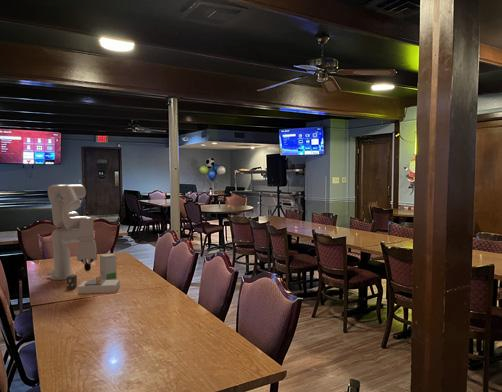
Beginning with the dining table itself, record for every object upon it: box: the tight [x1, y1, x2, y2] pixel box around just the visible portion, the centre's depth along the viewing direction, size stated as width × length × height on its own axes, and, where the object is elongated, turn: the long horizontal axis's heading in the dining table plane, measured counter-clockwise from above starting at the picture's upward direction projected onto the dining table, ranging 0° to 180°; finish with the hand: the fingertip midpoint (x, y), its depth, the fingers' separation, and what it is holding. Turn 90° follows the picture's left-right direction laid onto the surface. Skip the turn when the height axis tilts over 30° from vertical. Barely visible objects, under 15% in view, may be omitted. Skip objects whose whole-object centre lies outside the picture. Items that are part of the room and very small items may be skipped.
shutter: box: [84, 273, 105, 285], centre depth 220 cm, size 9×10×4 cm
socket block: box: [77, 279, 121, 295], centre depth 221 cm, size 20×12×4 cm, turn 99°
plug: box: [66, 274, 78, 290], centre depth 224 cm, size 4×6×7 cm, turn 8°
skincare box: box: [99, 253, 118, 280], centre depth 243 cm, size 8×7×16 cm
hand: (87, 270), depth 219 cm, fingers closed
